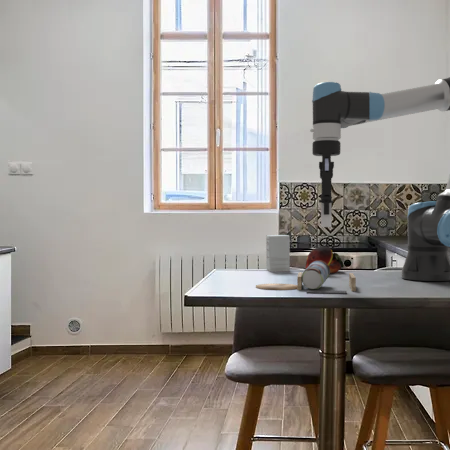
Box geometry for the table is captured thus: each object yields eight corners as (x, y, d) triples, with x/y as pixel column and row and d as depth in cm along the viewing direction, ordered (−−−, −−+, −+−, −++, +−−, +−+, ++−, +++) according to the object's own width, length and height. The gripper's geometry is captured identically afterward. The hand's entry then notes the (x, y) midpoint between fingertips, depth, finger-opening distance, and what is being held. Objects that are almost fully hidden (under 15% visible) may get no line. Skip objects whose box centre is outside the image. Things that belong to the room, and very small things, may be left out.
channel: (352, 285, 164) (352, 273, 164) (355, 291, 152) (355, 277, 152) (298, 284, 166) (298, 272, 166) (297, 289, 154) (297, 276, 154)
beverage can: (333, 263, 164) (329, 267, 152) (325, 288, 164) (320, 294, 153) (311, 256, 165) (306, 259, 154) (303, 281, 166) (297, 286, 154)
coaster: (300, 285, 165) (300, 283, 165) (299, 290, 153) (299, 289, 153) (257, 284, 167) (257, 283, 167) (253, 289, 155) (253, 288, 155)
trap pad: (346, 291, 151) (346, 290, 151) (347, 294, 147) (347, 292, 147) (306, 291, 152) (306, 290, 152) (306, 293, 148) (306, 292, 148)
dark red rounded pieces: (323, 294, 201) (293, 272, 194) (331, 263, 207) (303, 241, 200) (351, 290, 192) (321, 267, 185) (359, 257, 198) (330, 234, 191)
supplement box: (286, 270, 210) (286, 234, 210) (290, 272, 203) (290, 235, 202) (265, 270, 210) (266, 234, 209) (268, 272, 202) (268, 235, 202)
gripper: (312, 144, 168) (312, 226, 169) (312, 137, 152) (312, 227, 152) (339, 144, 167) (338, 226, 168) (341, 136, 151) (341, 227, 151)
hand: (326, 226), depth 160 cm, fingers open, 3 cm apart
